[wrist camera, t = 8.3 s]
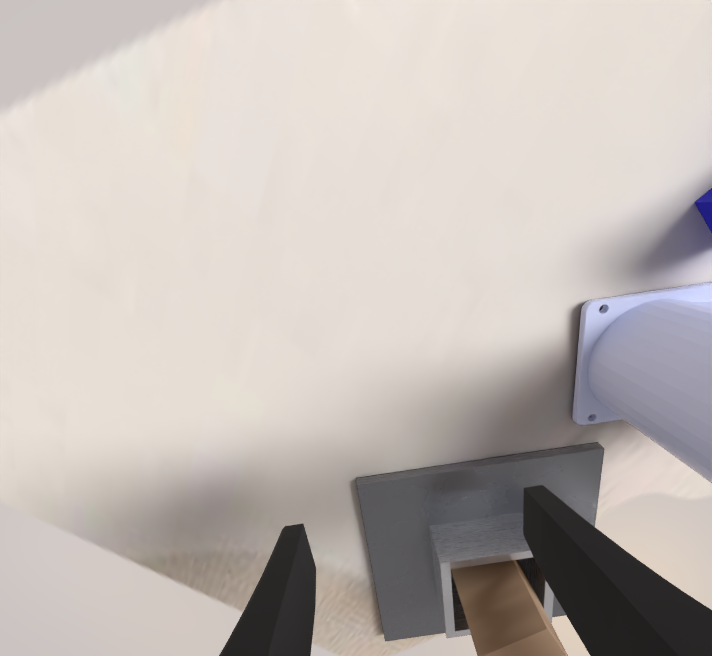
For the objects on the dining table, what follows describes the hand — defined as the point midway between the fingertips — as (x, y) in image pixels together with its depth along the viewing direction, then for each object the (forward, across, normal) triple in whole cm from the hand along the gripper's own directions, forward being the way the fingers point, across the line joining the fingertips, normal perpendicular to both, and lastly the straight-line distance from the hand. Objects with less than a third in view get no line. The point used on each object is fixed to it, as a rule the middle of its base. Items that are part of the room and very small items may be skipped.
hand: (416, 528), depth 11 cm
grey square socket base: (+9, -5, +15) cm, 18 cm away
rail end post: (+9, -5, +14) cm, 18 cm away
